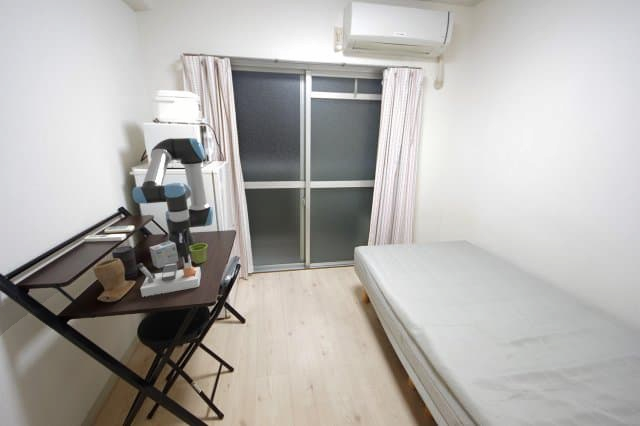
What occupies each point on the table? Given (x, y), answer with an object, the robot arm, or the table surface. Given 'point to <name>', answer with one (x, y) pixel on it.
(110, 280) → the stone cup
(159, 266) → the light bulb box
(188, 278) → the console
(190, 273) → the orange button
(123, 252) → the camera lens
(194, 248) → the plant pot
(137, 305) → the table surface
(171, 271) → the plate
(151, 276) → the toggle lever
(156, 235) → the table surface
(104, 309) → the table surface
